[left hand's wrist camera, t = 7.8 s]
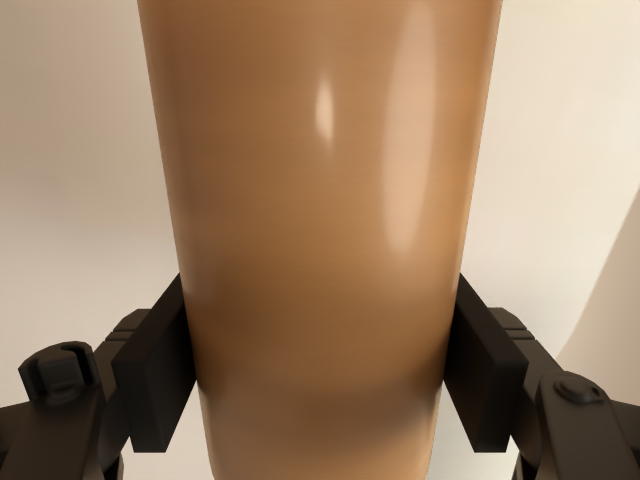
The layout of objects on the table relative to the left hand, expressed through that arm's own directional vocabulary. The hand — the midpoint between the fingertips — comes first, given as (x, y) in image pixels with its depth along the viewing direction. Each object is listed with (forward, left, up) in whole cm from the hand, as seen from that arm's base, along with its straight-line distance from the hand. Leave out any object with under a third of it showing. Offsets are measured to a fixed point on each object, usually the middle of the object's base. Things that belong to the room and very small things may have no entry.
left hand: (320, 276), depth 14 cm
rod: (+9, 0, -1) cm, 9 cm away
